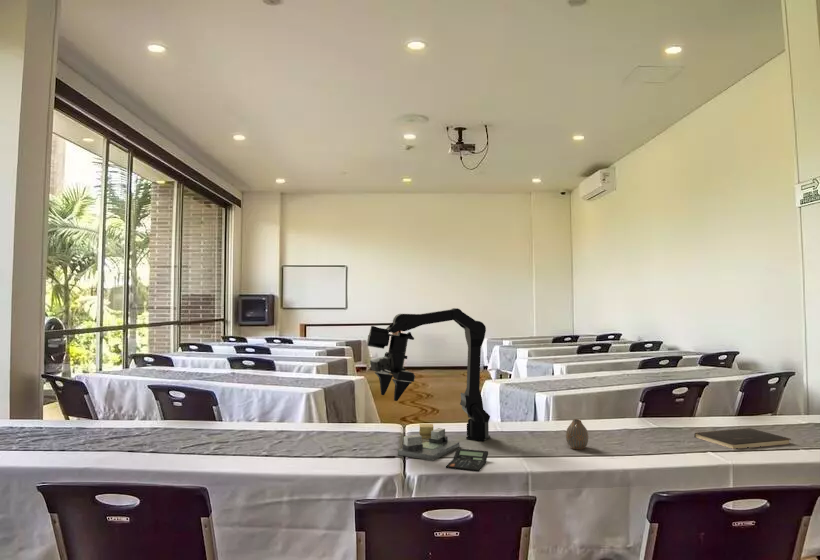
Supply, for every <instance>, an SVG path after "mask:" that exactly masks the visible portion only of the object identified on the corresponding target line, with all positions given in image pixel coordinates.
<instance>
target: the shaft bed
mask: <svg viewBox="0 0 820 560" xmlns="http://www.w3.org/2000/svg"><path fill="white" fill-rule="evenodd" d="M401 445H402V448H399V449H398V450H397V456H401V457H405V458H406V457H407V458H413V459H420V460H426V461H432V462H434V461H435V460H437V459H439V458H441V457H443V456H445V455H447V454H448V453H451V452H452V451H454V450H456V449H457V448H458V449H459V447H460V441H455V440H450V439H448V436H446V429H445V428H443V427H442V428H441V427H437V428H435V429H433V431H431V438H427V437H426V438H424V439H422V436H420V435H419V434H412V435H405V436H403V443H402V444H401Z"/></svg>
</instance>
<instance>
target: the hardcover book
mask: <svg viewBox="0 0 820 560" xmlns="http://www.w3.org/2000/svg"><path fill="white" fill-rule="evenodd" d="M693 435H694V438H697V439H700V440H703V441H706V442H709V443H712V444H715V445H719V446H723V447H725V446H726V447H725V448H728V449H731V448H732V449H733V450H737V449H736V448H738V449H746V448H747V447H749V448H757V447H759V448H760V446H761V447H770V446H781V445H790V440H791V439H792V438H790V437H786V436H782V435H779V434H774V433H770V432H766V431H762V430H759V429H754V428H752V427H751V428H749V427H748V428H747V427H746V428H736V429H735V428H734V429H723V430H711V431H700V432H699V431H698V432H694V434H693ZM747 449H748V448H747Z"/></svg>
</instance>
